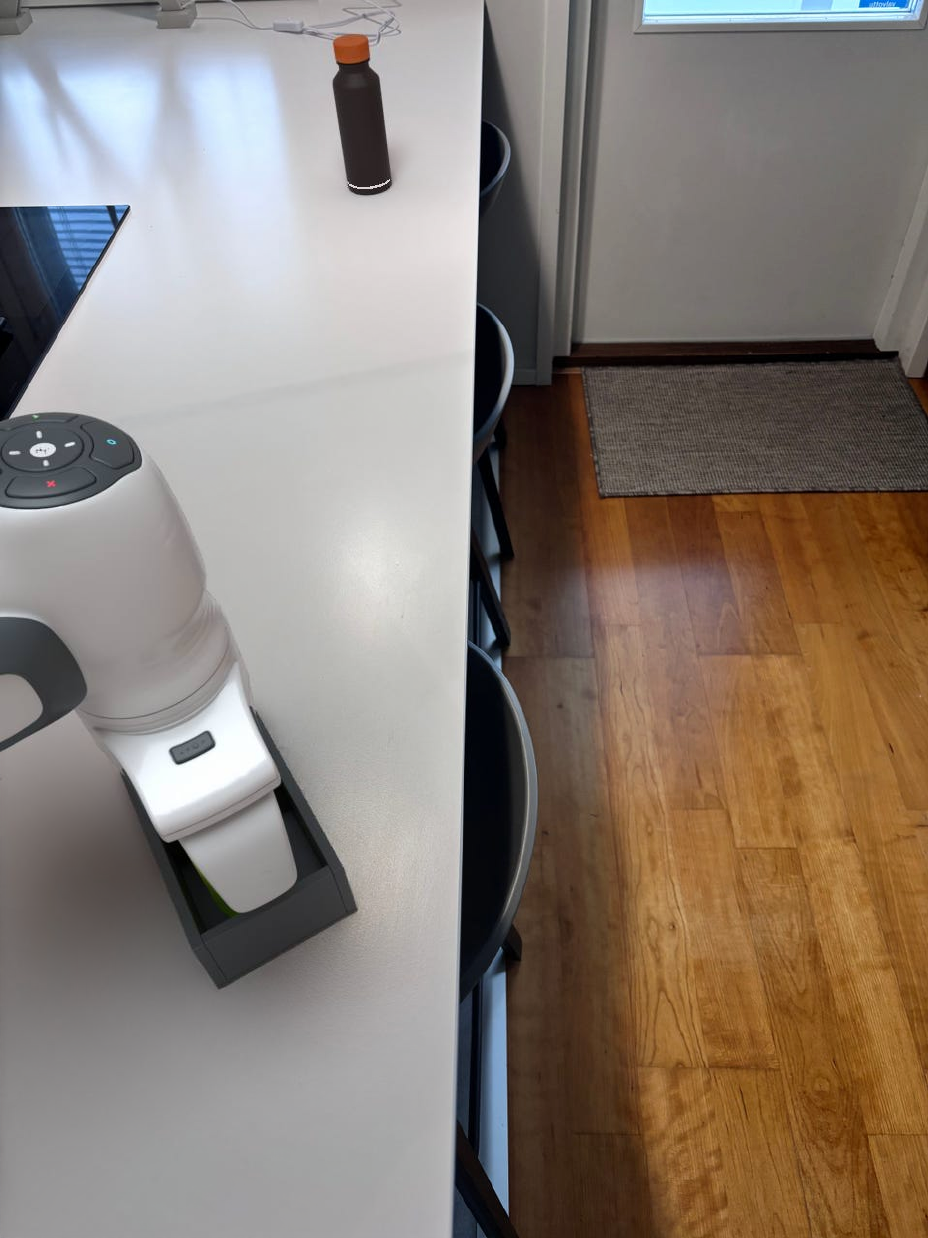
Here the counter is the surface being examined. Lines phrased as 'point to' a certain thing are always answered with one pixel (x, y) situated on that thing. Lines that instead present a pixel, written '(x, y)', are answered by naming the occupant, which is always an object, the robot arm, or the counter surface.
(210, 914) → the storage box
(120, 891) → the counter surface
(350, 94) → the bottle
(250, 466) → the counter surface
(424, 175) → the counter surface
